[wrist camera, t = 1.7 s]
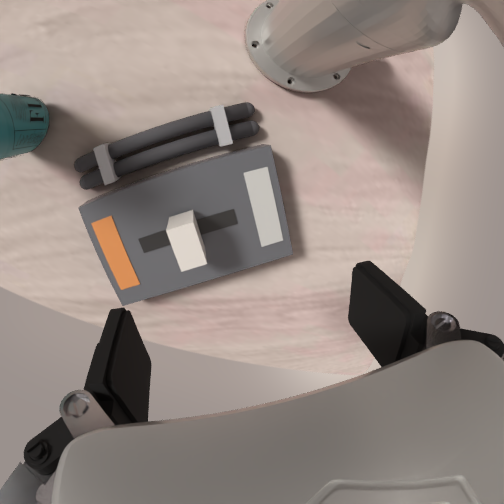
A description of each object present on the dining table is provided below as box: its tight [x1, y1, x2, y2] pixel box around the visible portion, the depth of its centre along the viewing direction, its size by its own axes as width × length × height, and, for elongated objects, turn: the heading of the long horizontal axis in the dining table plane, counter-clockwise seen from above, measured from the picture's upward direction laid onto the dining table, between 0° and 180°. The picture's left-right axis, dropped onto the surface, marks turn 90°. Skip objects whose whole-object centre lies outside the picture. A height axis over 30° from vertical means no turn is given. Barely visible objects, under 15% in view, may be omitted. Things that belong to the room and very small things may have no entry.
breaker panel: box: [79, 144, 293, 306], centre depth 29 cm, size 20×12×3 cm, turn 104°
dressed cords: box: [74, 102, 259, 190], centre depth 26 cm, size 20×4×2 cm, turn 104°
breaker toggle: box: [166, 210, 207, 272], centre depth 26 cm, size 2×4×4 cm, turn 14°
